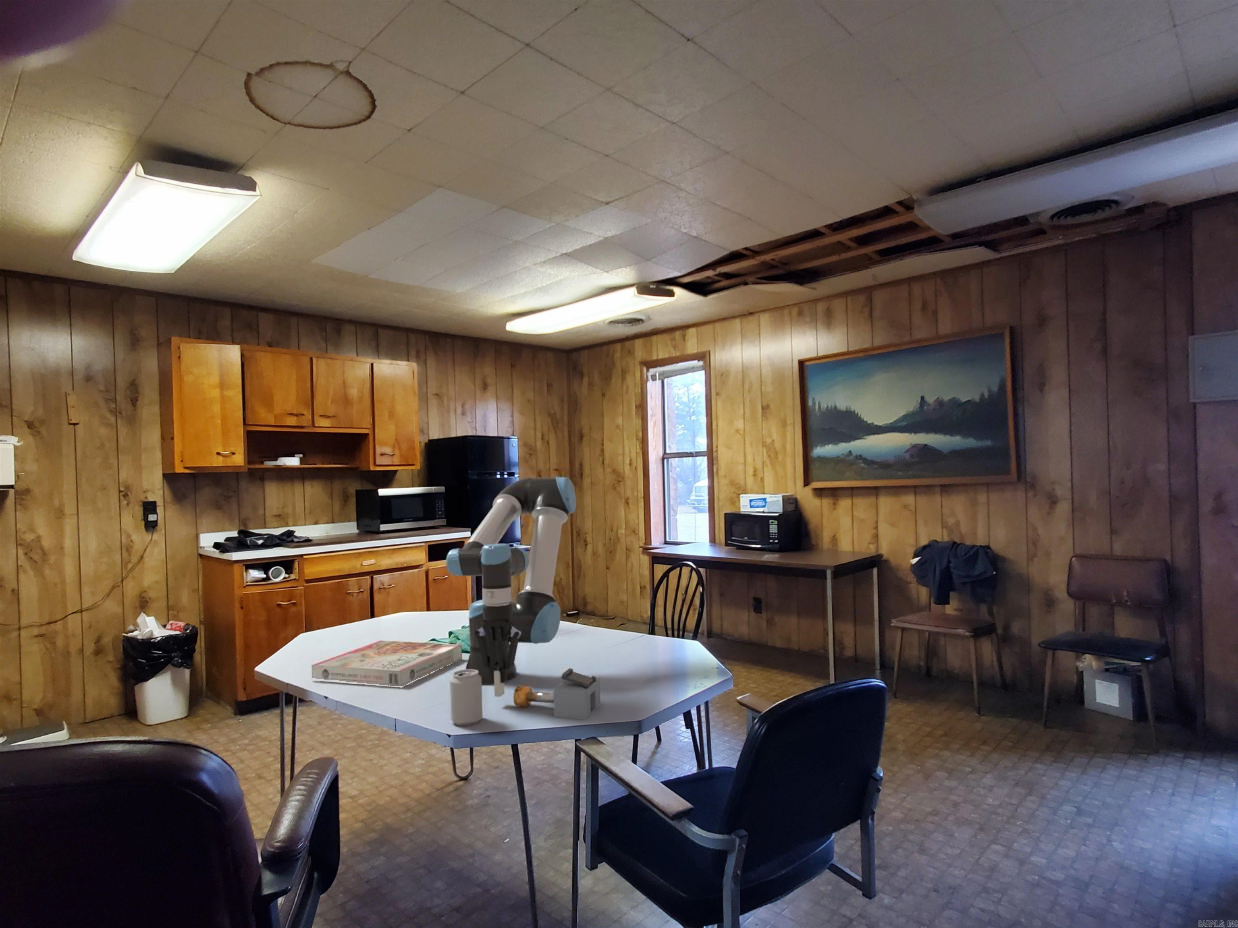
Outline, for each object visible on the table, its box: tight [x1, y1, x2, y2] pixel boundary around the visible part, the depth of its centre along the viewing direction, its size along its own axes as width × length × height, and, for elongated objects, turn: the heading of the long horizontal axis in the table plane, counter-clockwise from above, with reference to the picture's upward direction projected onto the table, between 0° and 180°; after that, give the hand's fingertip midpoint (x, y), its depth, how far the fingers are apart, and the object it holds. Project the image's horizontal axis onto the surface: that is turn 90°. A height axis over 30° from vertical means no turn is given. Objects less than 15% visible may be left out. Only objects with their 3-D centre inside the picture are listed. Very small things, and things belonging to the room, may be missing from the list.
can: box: [449, 668, 483, 726], centre depth 170 cm, size 8×8×12 cm
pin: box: [513, 685, 554, 708], centre depth 178 cm, size 13×5×5 cm, turn 73°
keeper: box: [560, 667, 597, 688], centre depth 175 cm, size 7×7×1 cm
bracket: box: [553, 677, 602, 720], centre depth 175 cm, size 8×12×6 cm, turn 163°
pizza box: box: [311, 640, 463, 686], centre depth 220 cm, size 32×5×32 cm
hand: (499, 694), depth 181 cm, fingers closed
